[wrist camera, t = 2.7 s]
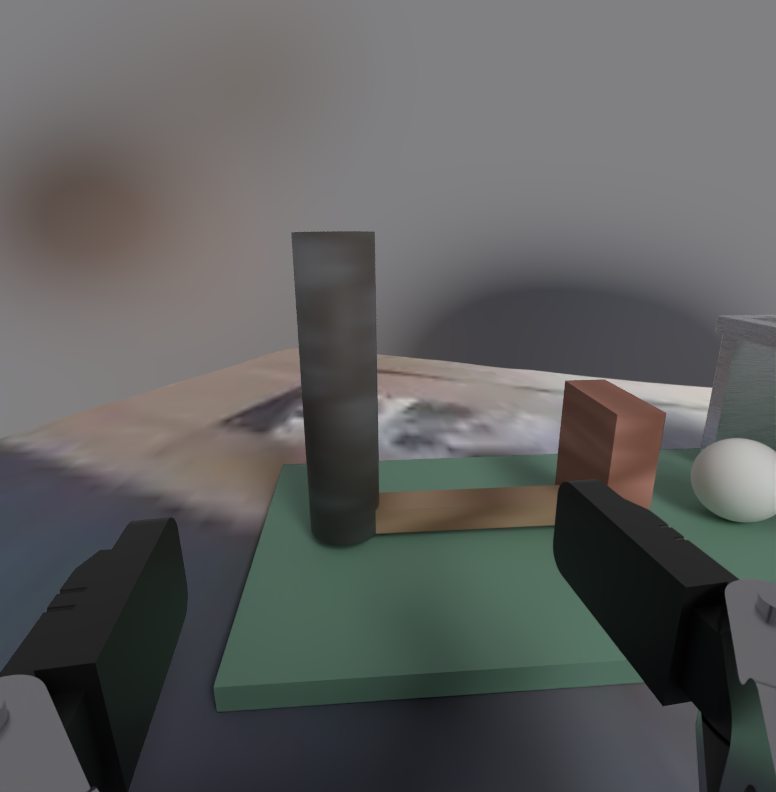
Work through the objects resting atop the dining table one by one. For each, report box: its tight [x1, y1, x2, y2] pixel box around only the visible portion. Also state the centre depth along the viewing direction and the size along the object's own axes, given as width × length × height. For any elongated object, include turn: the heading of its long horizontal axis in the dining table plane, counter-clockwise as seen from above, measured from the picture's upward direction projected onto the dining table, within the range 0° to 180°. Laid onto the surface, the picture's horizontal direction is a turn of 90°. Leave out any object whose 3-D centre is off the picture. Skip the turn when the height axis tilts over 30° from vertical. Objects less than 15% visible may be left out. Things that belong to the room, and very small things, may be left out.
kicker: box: [292, 232, 666, 546], centre depth 21 cm, size 15×5×13 cm, turn 94°
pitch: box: [213, 448, 776, 712], centre depth 24 cm, size 34×16×1 cm, turn 94°
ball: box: [691, 438, 776, 523], centre depth 24 cm, size 4×4×4 cm
